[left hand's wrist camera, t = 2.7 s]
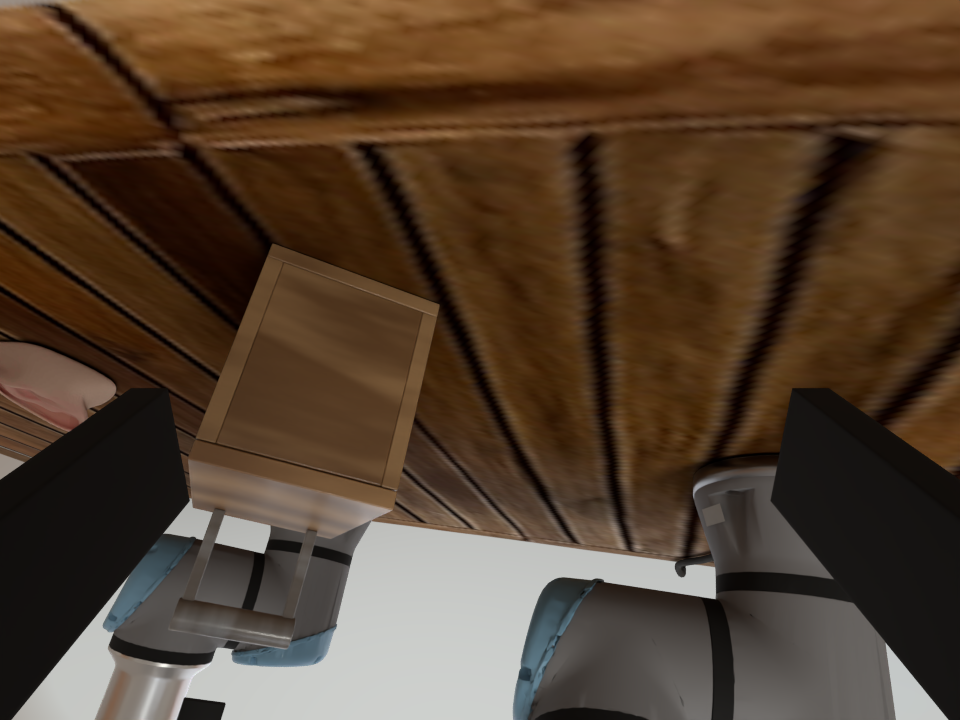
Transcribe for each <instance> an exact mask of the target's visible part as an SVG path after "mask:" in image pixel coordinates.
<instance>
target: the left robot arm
mask: <svg viewBox="0 0 960 720" xmlns="http://www.w3.org/2000/svg"><path fill="white" fill-rule="evenodd" d="M693 498H694V501H695V505H696V508H697V511H698V514H699V517H700V520H701V523H702V526H703V529H704V532H705V535H706V538H707V541H708V544H709V547H710V550H711V554H709V555H705V556H701V557H695V558H688V559H683V560H680V561H678V562H676V564H675V570H676V572H677V574H678V576H680V577H684V576H685V574H686V566H687V565H694V564H702V563H707V562H711V561H714V563H715V569H716V599H710V598H703V597H697V596H691V595H684V594H678V593H671V592H665V591H658V590H651V589H645V588H638V587H632V586H625V585H618V584H612V583H606V582H604V580H602V579H593V580H584V579H574V578H564V577H563V578H557V579H554V580H553V581H551V582H549V583H548V584H547V585H546V587H545V588H544V589H543V591H542V592H541V594H540V596H539V599H538V601H537V604H536V606H535V609H534V613H533V616H532V619H531V622H530V626H529V629H528V633H527V637H526V641H525V645H524V649H523V654H522V658H521V669H520V671H519V676H518V680H517V684H516V688H515V695H514V703H513V720H896V718H895V711H894V703H893V696H892V689H891V681H890V674H889V667H888V659H887V652H886V645H885V642H886V643H887V645H888V646H889V647H890V648H891V650H892V651H893V652H894V653H895V655H896V656H897V657H898V658H899V659H900V661H901V662H902V663H903V664H904V666H905V667H906V668H907V669H908V671H909V672H910V673H911V674H912V675H913V677H914V678H915V679H916V680H917V682H918V683H919V684H920V685H921V686H922V688H923V689H924V690H925V691H926V693H927V694H928V695H929V696H930V698H931V699H932V700H933V701H934V702H935V704H936V705H937V706H938V707H939V709H940V710H941V711H942V712H943V713H944V715H945V716H946V717H947V718H948V720H960V480H959V479H958V478H956V477H955V476H954V475H952V474H951V473H949V472H948V471H946V470H945V469H944V468H942V467H941V466H939V465H938V464H936V463H935V462H934V461H932V460H931V459H929V458H928V457H926V456H925V455H924V454H922V453H921V452H919V451H918V450H916V449H915V448H914V447H912V446H911V445H909V444H908V443H906V442H905V441H904V440H902V439H901V438H899V437H898V436H896V435H895V434H894V433H892V432H891V431H889V430H888V429H886V428H885V427H883V426H882V425H881V424H879V423H878V422H876V421H875V420H873V419H872V418H871V417H869V416H868V415H866V414H865V413H863V412H862V411H861V410H859V409H858V408H856V407H855V406H853V405H852V404H851V403H849V402H848V401H846V400H845V399H843V398H842V397H841V396H839V395H838V394H836V393H835V392H833V391H832V390H831V389H829V388H792V393H791V398H790V403H789V408H788V413H787V418H786V423H785V428H784V434H783V439H782V444H781V449H780V454H779V455H760V456H747V457H739V458H732V459H727V460H722V461H718V462H715V463H712V464H709V465H707V466H705V467H703V468H701V469H699V470H698V471H697V472H696V473H695V474H694V477H693ZM189 501H190V500H189V495H188V490H187V485H186V479H185V474H184V469H183V464H182V459H181V454H180V449H179V444H178V439H177V434H176V428H175V423H174V418H173V413H172V408H171V403H170V398H169V393H168V388H131V389H129V390H128V391H127V392H125V393H124V394H122V395H121V396H119V397H118V398H117V399H115V400H114V401H112V402H111V403H109V404H108V405H107V406H105V407H104V408H102V409H101V410H99V411H98V412H97V413H95V414H94V415H92V416H91V417H89V418H88V419H87V420H85V421H84V422H82V423H81V424H79V425H78V426H77V427H75V428H74V429H72V430H71V431H69V432H68V433H66V434H65V435H64V436H62V437H61V438H59V439H58V440H56V441H55V442H54V443H52V444H51V445H49V446H48V447H46V448H45V449H44V450H42V451H41V452H39V453H38V454H36V455H35V456H34V457H32V458H31V459H29V460H28V461H26V462H25V463H24V464H22V465H21V466H19V467H18V468H16V469H15V470H14V471H12V472H11V473H9V474H8V475H6V476H5V477H4V478H2V479H1V480H0V720H12V718H13V717H14V716H15V715H16V713H17V712H18V711H19V710H20V709H21V707H22V706H23V705H24V704H25V702H26V701H27V700H28V699H29V698H30V696H31V695H32V694H33V693H34V691H35V690H36V689H37V688H38V686H39V685H40V684H41V683H42V682H43V680H44V679H45V678H46V677H47V675H48V674H49V673H50V672H51V670H52V669H53V668H54V667H55V666H56V664H57V663H58V662H59V661H60V659H61V658H62V657H63V656H64V654H65V653H66V652H67V651H68V650H69V648H70V647H71V646H72V645H73V644H74V642H75V641H76V640H77V639H78V637H79V636H80V635H81V634H82V632H83V631H84V630H85V629H86V627H87V626H88V625H89V624H90V623H91V621H92V620H93V619H94V618H95V617H96V615H97V614H98V613H99V612H100V610H101V609H102V608H103V607H104V605H105V604H106V603H107V602H108V601H109V599H110V598H111V597H112V596H113V594H114V593H115V592H116V591H117V590H118V588H119V587H120V586H121V585H122V583H123V582H124V581H125V580H126V578H127V577H128V576H129V575H130V574H131V572H132V571H133V570H134V569H135V567H136V566H137V565H138V564H139V563H140V561H141V560H142V559H143V558H144V556H145V555H146V554H147V553H148V551H149V550H150V549H151V548H152V547H153V545H154V544H155V543H156V542H157V540H158V539H159V538H160V537H161V536H162V534H163V533H164V532H165V531H166V529H167V528H168V527H169V526H170V524H171V523H172V522H173V521H174V520H175V518H176V517H177V516H178V515H179V513H180V512H181V511H182V510H183V509H184V507H185V506H186V505H187V504H188V502H189Z"/></svg>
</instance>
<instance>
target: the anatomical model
mask: <svg viewBox="0 0 960 720" xmlns="http://www.w3.org/2000/svg"><path fill="white" fill-rule="evenodd" d="M115 392H116V386H115V384H114V383H113V382H112V381H111V380H110V379H108V378H107V377H105V376H104V375H102V374H100V373H99V372H97V371H95V370H93V369H91V368H89V367H87V366H85V365H83V364H81V363H79V362H77V361H75V360H73V359H70V358H68V357H66V356H64V355H61V354H59V353H57V352H54V351H52V350H49V349H47V348H44V347H41V346H38V345H34V344H30V343H24V342H0V394H2V395H3V396H5V397H6V398H8V399H9V400H10V401H12V402H14V403H15V404H17V405H19V406H21V407H22V408H24V409H26V410H27V411H29V412H31V413H33V414H34V415H36V416H38V417H39V418H41V419H43V420H45V421H47V422H49V423H50V424H52V425H54V426H56V427H58V428H61V429H63V430H66V431H71V430H72V429H74V428H75V427H77V426H78V425H79V424H81V423H82V422H84V421H85V420H87V419H88V414H87V409H89V408H91V407H95V406H98V405H101V404H103V403H105V402H107V401H108V400H110V399H111V398H112V397H113V396H114V394H115Z"/></svg>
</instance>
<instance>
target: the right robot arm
mask: <svg viewBox="0 0 960 720" xmlns="http://www.w3.org/2000/svg"><path fill="white" fill-rule="evenodd" d="M371 521H372V520H370V521H368V522H366V523H364V524H362V525H360V526H357V527H355V528H353V529H351V530H349V531H347V532H345V533H342V534H340V535H338V536H336V537H334V538H332V539H329V538H324V537H320V536H316V540H315V543H314V547H313V550H312V554H311V558H310V561H309V565H308V568H307V572H306V575H305V579H304V583H303V586H302V590H301V593H300V597H299V601H298V604H297V608H296V611H295V615H294V618H295V620H296V622H295V628H294V632H293V636H292V639H291V642H290V645H289V647H288V648H287V649H281V648H275V647H269V646H262V645H256V644H250V643H244V642H238V641H232V640H226V639H220V638H214V637H208V636H202V635H196V634H190V633H184V632H178V631H172V630H169V625H170V622H171V619H172V616H173V614H174V611H175V608H176V606H177V603H178V601H179V598H182V597H183V595H184V592H185V589H186V586H187V583H188V581H189V578H190V575H191V572H192V570H193V567H194V564H195V561H196V558H197V556H198V553H199V550H200V547H201V545H202V542H203V540H199V539H196V538H195V537H190V538H189V537H183V536H177V535H172V534H162V536H161V537H160V538H159V539H158V540H157V542H156V543H155V544H154V545H153V547H152V548H151V549H150V550H149V551H148V553H147V554H146V555H145V556H144V558H143V559H142V560H141V561H140V563H139V564H138V565H137V566H136V567H135V569H134V570H133V571H132V572H131V574H130V575H129V577H128V579H127V581H126V583H125V585H124V586H123V588H122V590H121V592H120V594H119V596H118V597H117V599H116V601H115V603H114V605H113V606H112V608H111V610H110V612H109V614H108V616H107V617H106V619H105V621H104V623H103V628H104V629H106V630H107V631H108V632H113V631H114V634H113V636H112V639H111V641H110V644H109V646H108V650H109V652H110V654H111V655H112V657H113V659H114V661H115V669H114V671H113V674H112V677H111V679H110V682H109V684H108V687H107V690H106V692H105V695H104V697H103V700H102V702H101V705H100V707H99V710H98V713H97V715H96V718H95V720H221V717H222V714H223V711H224V707H225V703H223V702H215V701H207V700H201V699H193V698H186V695H187V692H188V689H189V686H190V683H191V680H192V678H193V676H194V675H195V674H197V673H198V672H200V671H201V670H203V669H204V668H206V667H208V666H209V665H210V664H211V661H212V659H213V656H214V653H215V650H216V648H217V647H220V648H228V649H234V650H233V651H232V660H233V662H235V663H237V664H243V665H257V666H269V667H295V666H308V665H313V664H316V663H318V662H320V661H321V660H323V658H324V657H325V656H326V654H327V652H328V649H329V646H330V642H331V639H332V636H333V632H334V630H335V629H336V627H337V624H336V622H337V618H338V614H339V610H340V605H341V601H342V597H343V593H344V589H345V585H346V581H347V577H348V572H349V568H350V564H351V560H352V556H353V553H354V550H355V548H356V546H357V544H358V543H359V541H360V539H361V538H362V536H363V534H364V533H365V531H366V529H367V527H368V526H369V524H370V522H371ZM304 537H305V533H302V532H298V531H293V530H289V529H285V528H280V527H276V526H271V533H270V537H269V541H268V544H267V547H266V550H265V553H264V554H262V553H257V552H253V551H249V550H244V549H240V548H235V547H231V546H226V545H222V544H217V543H214V546H213V549H212V551H211V554H210V557H209V560H208V563H207V566H206V569H205V571H204V574H203V577H202V580H201V583H200V586H199V589H198V591H197V594H196V597H195V600H198V601H203V602H209V603H214V604H220V605H225V606H231V607H236V608H242V609H247V610H253V611H258V612H264V613H269V614H275V615H280V616H282V613H283V610H284V606H285V603H286V600H287V596H288V593H289V589H290V586H291V582H292V579H293V575H294V572H295V568H296V565H297V561H298V558H299V554H300V551H301V547H302V544H303V540H304Z"/></svg>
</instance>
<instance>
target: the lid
mask: <svg viewBox="0 0 960 720" xmlns="http://www.w3.org/2000/svg"><path fill="white" fill-rule="evenodd" d="M188 465H189V474H190V484H191V494H192V503H193V508H196V509H201V510H205V511H210V512H213V514H212V517H211V520H210V522H209V525H208V528H207V531H206V534H205V536H204V539H203V542H202V545H201V547H200V550H199V553H198V556H197V558H196V561H195V564H194V567H193V570H192V572H191V575H190V578H189V581H188V583H187V586H186V589H185V592H184V595H183V597H182V598H179V601H178V603H177V606H176V608H175V611H174V614H173V616H172V619H171V622H170V625H169V630H172V631H178V632H184V633H190V634H196V635H202V636H208V637H214V638H220V639H226V640H232V641H238V642H244V643H250V644H256V645H262V646H269V647H275V648H281V649H287V648H288V647H289V645H290V642H291V639H292V636H293V632H294V628H295V622H296V620H295V618H294V615H295V611H296V608H297V604H298V601H299V597H300V593H301V590H302V586H303V583H304V579H305V575H306V572H307V568H308V565H309V561H310V558H311V554H312V550H313V547H314V543H315V540H316V536H320V537H324V538H329V539H332V538H334V537H336V536H338V535H340V534H342V533H345V532H347V531H349V530H351V529H353V528H355V527H357V526H360V525H362V524H364V523H366V522H368V521H370V520H372V519H375V518H377V517H379V516H381V515H383V514H385V513H387V512H390V511H392V510H393V508H394V504H395V499H396V495H397V492H396V491H393V490H389V489H385V488H381V487H377V486H373V485H370V484H366V483H362V482H358V481H354V480H350V479H347V478H343V477H339V476H335V475H331V474H327V473H323V472H320V471H316V470H312V469H308V468H304V467H300V466H296V465H293V464H289V463H285V462H281V461H277V460H273V459H270V458H266V457H262V456H258V455H254V454H250V453H246V452H243V451H239V450H235V449H231V448H227V447H223V446H220V445H216V444H212V443H208V442H204V441H200V440H195V441H194V443H193V446H192V449H191V451H190V454H189V456H188ZM224 515H227V516H232V517H236V518H240V519H245V520H249V521H254V522H258V523H263V524H267V525H271V526H276V527H280V528H285V529H289V530H293V531H298V532H302V533H305V537H304V540H303V544H302V547H301V551H300V554H299V558H298V561H297V565H296V568H295V572H294V575H293V579H292V582H291V586H290V589H289V593H288V596H287V600H286V603H285V606H284V610H283V613H282V616H280V615H275V614H269V613H264V612H258V611H253V610H247V609H242V608H236V607H231V606H225V605H220V604H214V603H209V602H203V601H198V600H195V597H196V594H197V591H198V589H199V586H200V583H201V580H202V577H203V574H204V571H205V569H206V566H207V563H208V560H209V557H210V554H211V551H212V549H213V546H214V543H215V540H216V537H217V534H218V531H219V529H220V526H221V523H222V520H223V517H224Z"/></svg>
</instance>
